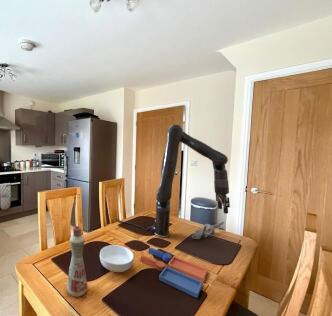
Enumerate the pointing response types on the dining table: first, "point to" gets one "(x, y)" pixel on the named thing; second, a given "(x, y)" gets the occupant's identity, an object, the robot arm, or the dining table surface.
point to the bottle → (77, 265)
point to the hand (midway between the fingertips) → (222, 211)
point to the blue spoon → (160, 254)
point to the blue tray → (181, 281)
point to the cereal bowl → (116, 258)
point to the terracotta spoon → (153, 262)
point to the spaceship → (206, 230)
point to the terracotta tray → (188, 268)
